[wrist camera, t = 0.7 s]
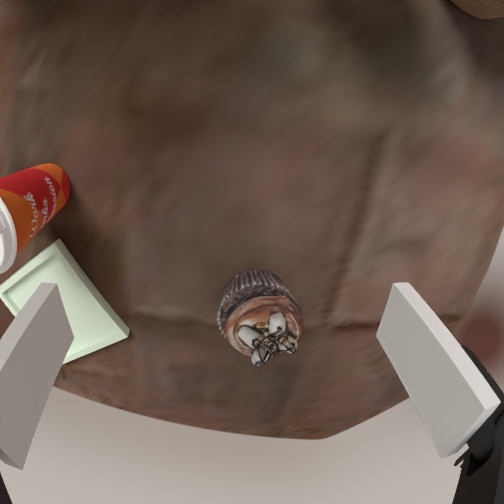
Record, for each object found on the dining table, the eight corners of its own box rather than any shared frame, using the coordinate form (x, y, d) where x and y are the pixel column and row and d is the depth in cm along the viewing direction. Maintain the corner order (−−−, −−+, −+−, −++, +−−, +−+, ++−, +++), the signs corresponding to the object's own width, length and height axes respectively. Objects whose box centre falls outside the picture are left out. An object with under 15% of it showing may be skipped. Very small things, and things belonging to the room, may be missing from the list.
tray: (0, 285, 36) (-5, 290, 35) (60, 238, 34) (54, 243, 33) (62, 359, 43) (59, 365, 42) (130, 329, 41) (127, 337, 40)
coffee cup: (63, 231, 34) (0, 298, 21) (17, 198, 31) (-58, 249, 18) (90, 174, 31) (18, 222, 18) (39, 140, 29) (-45, 170, 15)
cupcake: (263, 247, 37) (276, 295, 28) (305, 299, 41) (325, 351, 32) (201, 291, 39) (197, 345, 30) (247, 335, 43) (254, 390, 34)
